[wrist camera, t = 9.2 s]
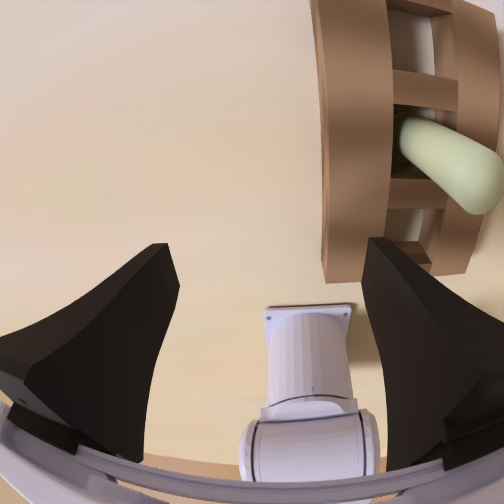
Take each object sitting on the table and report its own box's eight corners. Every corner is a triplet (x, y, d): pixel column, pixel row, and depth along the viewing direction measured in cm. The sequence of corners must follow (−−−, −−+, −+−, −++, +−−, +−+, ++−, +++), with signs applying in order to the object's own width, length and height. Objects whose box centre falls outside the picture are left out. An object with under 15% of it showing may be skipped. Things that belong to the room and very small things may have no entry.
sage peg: (424, 153, 17) (499, 214, 10) (386, 153, 17) (452, 215, 10) (425, 112, 15) (510, 152, 8) (386, 110, 16) (461, 147, 8)
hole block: (450, 252, 21) (465, 273, 19) (321, 258, 23) (325, 283, 20) (470, 16, 10) (494, 13, 8) (307, -14, 11) (312, -29, 9)
